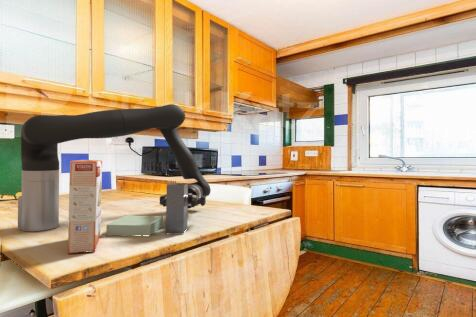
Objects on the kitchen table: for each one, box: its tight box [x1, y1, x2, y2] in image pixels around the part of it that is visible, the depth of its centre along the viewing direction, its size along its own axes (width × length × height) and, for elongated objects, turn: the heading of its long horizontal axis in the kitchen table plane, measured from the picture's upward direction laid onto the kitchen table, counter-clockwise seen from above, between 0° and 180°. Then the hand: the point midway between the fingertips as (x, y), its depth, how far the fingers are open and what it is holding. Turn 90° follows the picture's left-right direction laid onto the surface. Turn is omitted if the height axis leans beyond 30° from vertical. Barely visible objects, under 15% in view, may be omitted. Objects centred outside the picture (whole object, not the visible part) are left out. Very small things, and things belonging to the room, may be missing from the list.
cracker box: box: [67, 159, 103, 255], centre depth 71 cm, size 14×6×21 cm, turn 21°
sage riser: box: [105, 215, 164, 237], centre depth 85 cm, size 12×12×3 cm
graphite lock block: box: [165, 182, 189, 234], centre depth 84 cm, size 5×5×14 cm
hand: (178, 203), depth 86 cm, fingers open, 8 cm apart
